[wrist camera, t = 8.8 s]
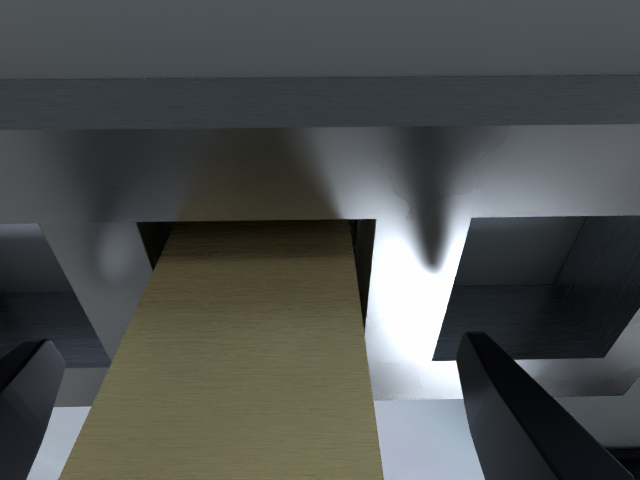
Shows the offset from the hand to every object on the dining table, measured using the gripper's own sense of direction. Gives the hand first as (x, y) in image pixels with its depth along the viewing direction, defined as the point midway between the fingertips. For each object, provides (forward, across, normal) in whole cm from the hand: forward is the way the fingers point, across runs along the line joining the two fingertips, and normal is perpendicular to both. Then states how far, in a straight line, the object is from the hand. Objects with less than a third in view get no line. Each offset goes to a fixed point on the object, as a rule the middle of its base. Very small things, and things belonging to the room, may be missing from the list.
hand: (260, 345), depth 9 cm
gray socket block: (+4, 0, 0) cm, 4 cm away
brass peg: (+4, 0, 0) cm, 4 cm away
